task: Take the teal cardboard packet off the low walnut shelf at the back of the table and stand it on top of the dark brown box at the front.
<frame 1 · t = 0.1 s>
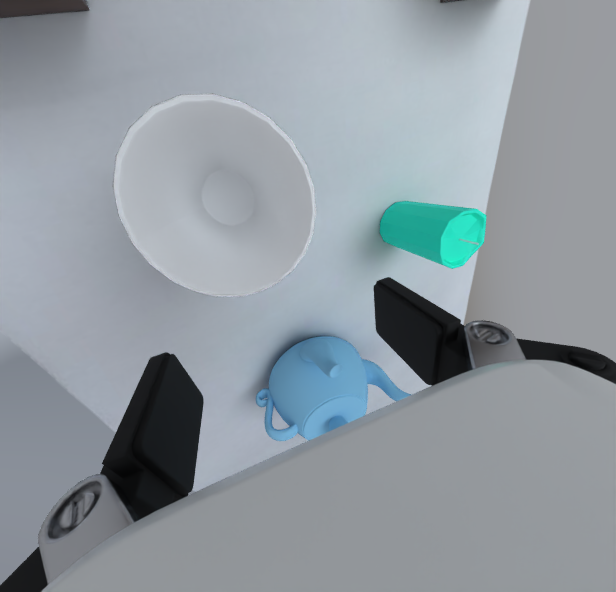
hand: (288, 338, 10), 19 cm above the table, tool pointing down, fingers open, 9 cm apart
cup: (229, 198, 24), on the table
teapot: (317, 366, 39), on the table
candle: (397, 223, 32), on the table
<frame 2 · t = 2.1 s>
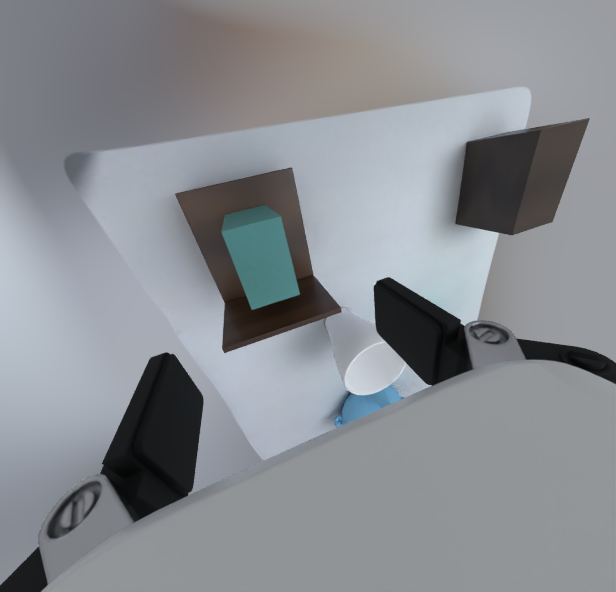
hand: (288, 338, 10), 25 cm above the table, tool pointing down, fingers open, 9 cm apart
dark brown box: (479, 181, 39), on the table
cup: (338, 319, 44), on the table
shelf: (251, 229, 32), on the table
teapot: (368, 399, 60), on the table
packet: (255, 241, 26), point 7 cm above the table, touching shelf
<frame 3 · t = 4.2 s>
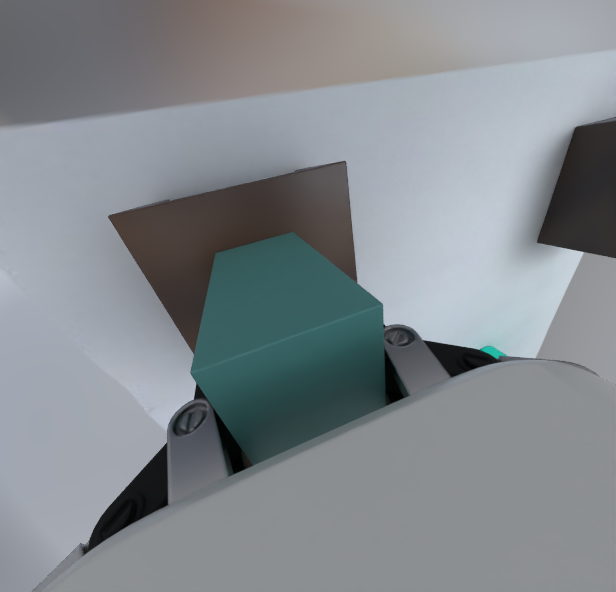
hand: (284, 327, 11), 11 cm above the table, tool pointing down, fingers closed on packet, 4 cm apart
dark brown box: (577, 184, 28), on the table
shelf: (259, 261, 20), on the table
packet: (272, 294, 14), point 7 cm above the table, touching gripper, shelf
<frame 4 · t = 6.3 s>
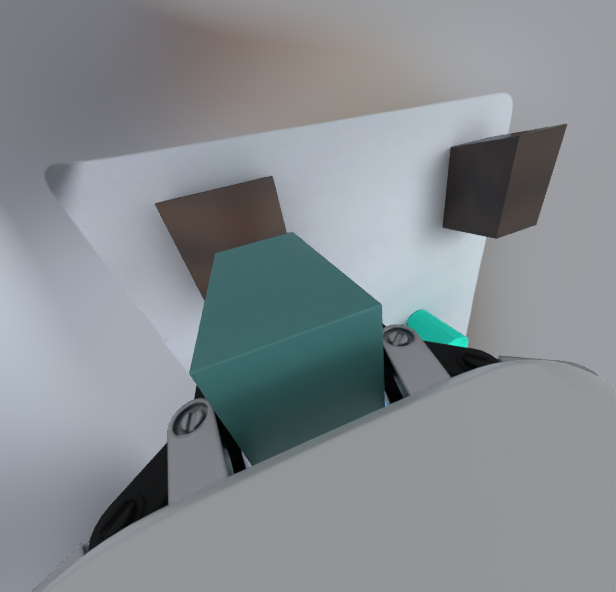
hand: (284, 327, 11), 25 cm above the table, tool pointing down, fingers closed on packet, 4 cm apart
dark brown box: (464, 185, 40), on the table
shelf: (236, 236, 32), on the table
packet: (271, 294, 14), point 21 cm above the table, touching gripper
candle: (416, 320, 52), on the table
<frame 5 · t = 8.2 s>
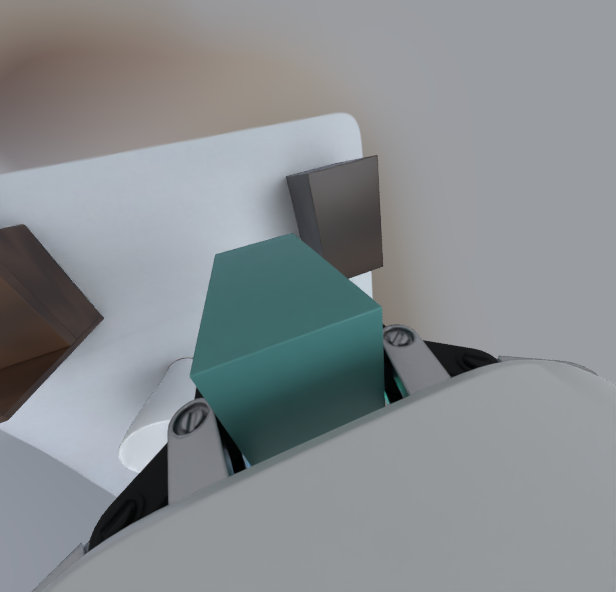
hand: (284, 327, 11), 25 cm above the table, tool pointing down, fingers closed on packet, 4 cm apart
dark brown box: (321, 216, 35), on the table
cup: (187, 370, 40), on the table
shelf: (13, 290, 27), on the table
packet: (271, 295, 14), point 21 cm above the table, touching gripper
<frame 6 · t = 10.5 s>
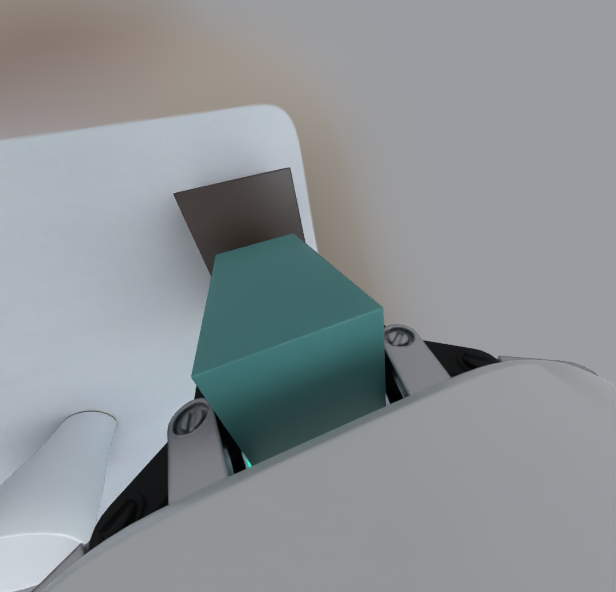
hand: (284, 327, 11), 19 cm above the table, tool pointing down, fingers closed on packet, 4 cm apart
dark brown box: (252, 239, 27), on the table
cup: (91, 424, 32), on the table
packet: (272, 295, 14), point 15 cm above the table, touching gripper
when the fingers open (14 cm above the table, at t = 12.1 s): packet stays where it is, resting on dark brown box.
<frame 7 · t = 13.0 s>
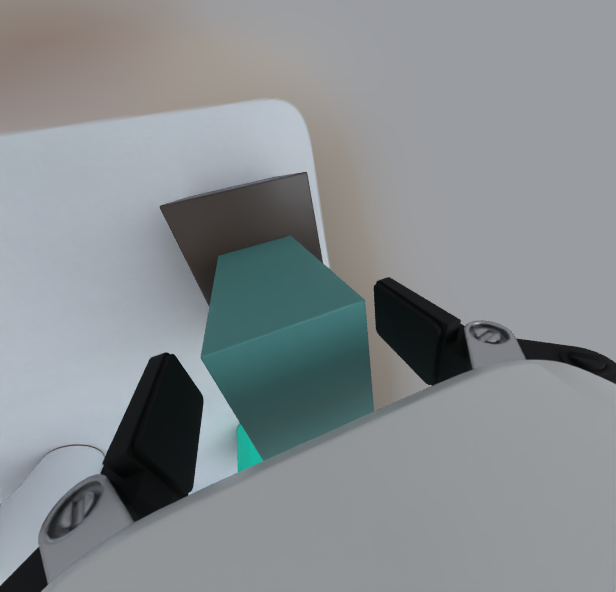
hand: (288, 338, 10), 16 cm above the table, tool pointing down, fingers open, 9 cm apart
dark brown box: (256, 253, 24), on the table
cup: (75, 458, 28), on the table
packet: (271, 294, 15), point 10 cm above the table, touching dark brown box
candle: (256, 426, 36), on the table
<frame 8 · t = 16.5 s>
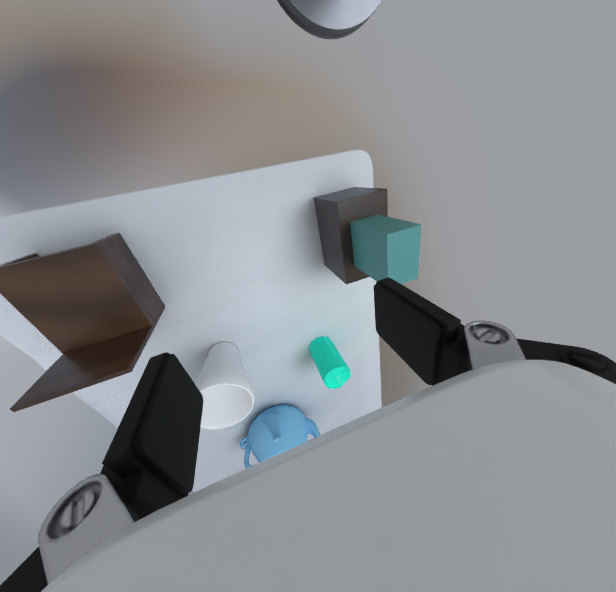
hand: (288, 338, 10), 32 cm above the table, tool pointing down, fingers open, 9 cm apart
dark brown box: (338, 228, 43), on the table
cup: (223, 352, 48), on the table
shelf: (103, 282, 35), on the table
teapot: (280, 419, 63), on the table
packet: (365, 241, 35), point 10 cm above the table, touching dark brown box
candle: (320, 345, 55), on the table
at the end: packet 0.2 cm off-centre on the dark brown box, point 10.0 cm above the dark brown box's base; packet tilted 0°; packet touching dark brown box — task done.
